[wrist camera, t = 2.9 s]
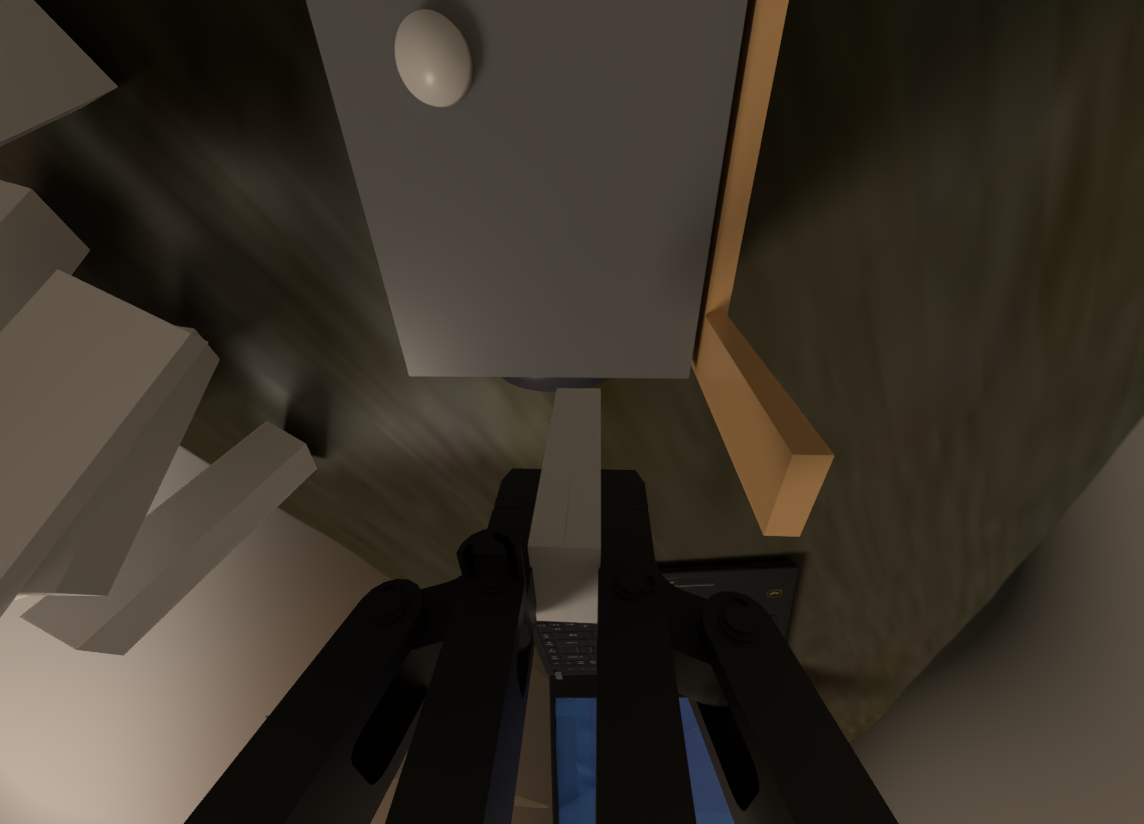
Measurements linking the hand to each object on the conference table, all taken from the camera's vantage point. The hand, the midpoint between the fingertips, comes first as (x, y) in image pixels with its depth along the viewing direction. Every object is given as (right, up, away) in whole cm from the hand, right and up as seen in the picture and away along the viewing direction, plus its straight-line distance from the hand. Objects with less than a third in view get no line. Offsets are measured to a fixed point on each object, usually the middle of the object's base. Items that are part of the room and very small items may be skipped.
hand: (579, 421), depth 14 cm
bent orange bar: (+7, +15, +10) cm, 20 cm away
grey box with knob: (-1, +15, +11) cm, 19 cm away
